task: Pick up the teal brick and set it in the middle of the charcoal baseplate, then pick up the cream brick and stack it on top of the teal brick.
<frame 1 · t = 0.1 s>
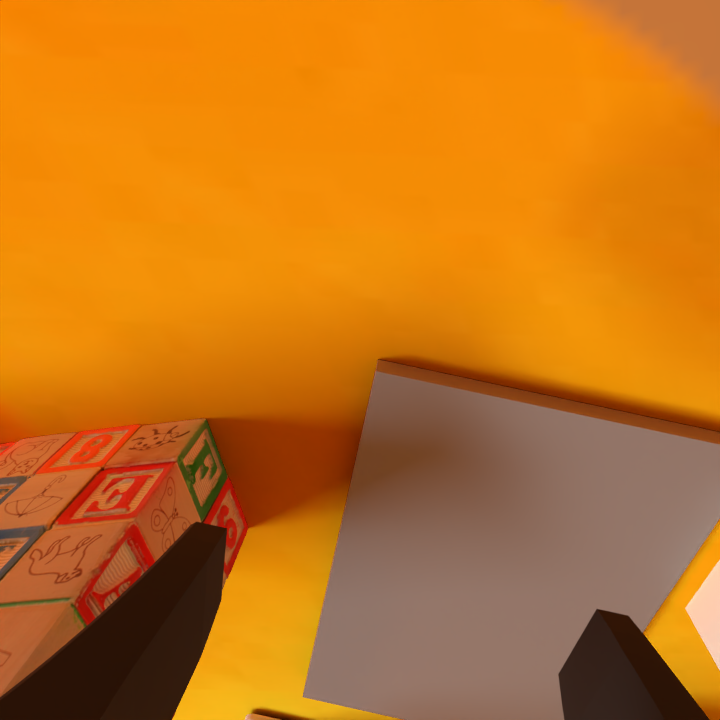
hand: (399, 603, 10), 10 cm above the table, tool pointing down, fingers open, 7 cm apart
baseplate: (483, 581, 23), on the table
stack of blocks: (29, 491, 24), on the table
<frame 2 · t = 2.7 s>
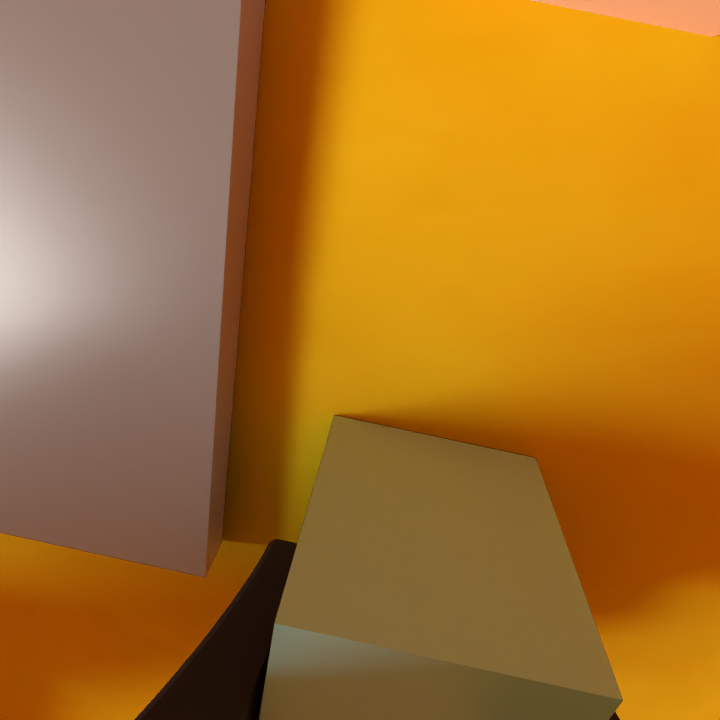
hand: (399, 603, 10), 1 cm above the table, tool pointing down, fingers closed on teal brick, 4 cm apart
teal brick: (401, 546, 11), on the table, touching gripper
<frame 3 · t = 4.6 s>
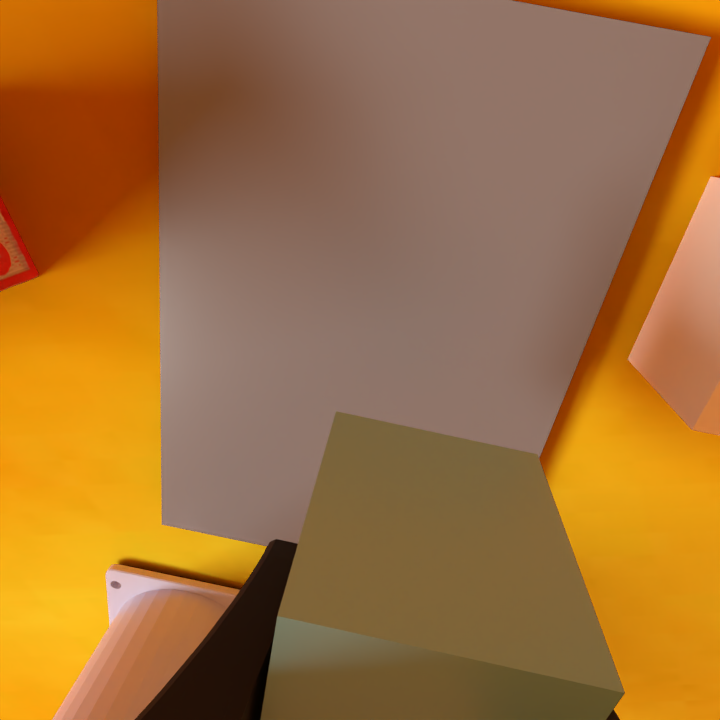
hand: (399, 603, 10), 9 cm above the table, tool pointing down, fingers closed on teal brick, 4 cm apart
baseplate: (365, 335, 18), on the table
teal brick: (402, 543, 11), point 8 cm above the table, touching gripper
when the fingers open (3 cm above the table, at t = 6.4 s): teal brick stays where it is, resting on baseplate.
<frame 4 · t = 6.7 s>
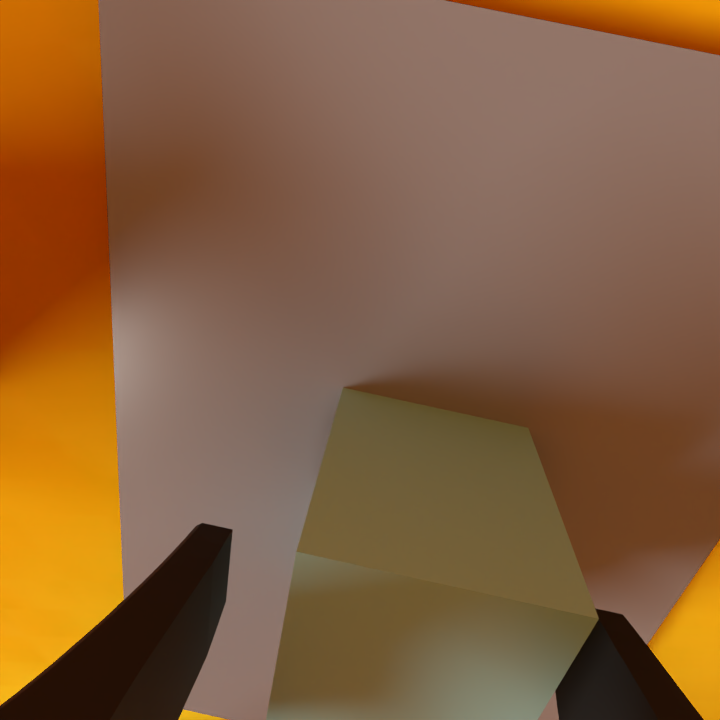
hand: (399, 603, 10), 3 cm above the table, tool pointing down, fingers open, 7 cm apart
baseplate: (403, 488, 13), on the table
teal brick: (403, 513, 12), point 1 cm above the table, touching baseplate
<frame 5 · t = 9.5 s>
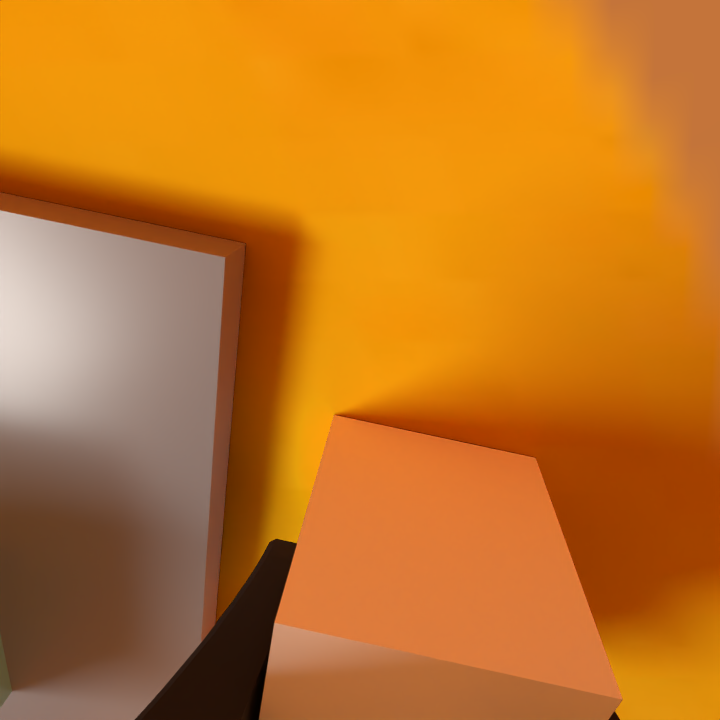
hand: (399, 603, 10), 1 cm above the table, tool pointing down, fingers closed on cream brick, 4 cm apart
cream brick: (401, 546, 11), on the table, touching gripper
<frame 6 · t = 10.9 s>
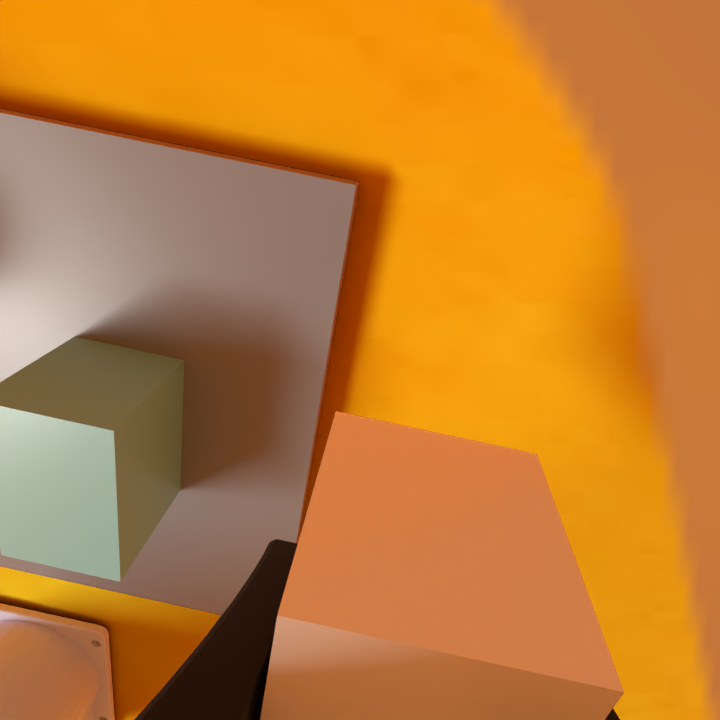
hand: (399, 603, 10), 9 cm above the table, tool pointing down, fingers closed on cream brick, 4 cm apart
baseplate: (144, 406, 20), on the table
teal brick: (131, 418, 19), point 1 cm above the table, touching baseplate
cream brick: (402, 543, 11), point 8 cm above the table, touching gripper
when the fingers open (8 cm above the table, at t = 12.4 s): cream brick stays where it is, resting on teal brick.
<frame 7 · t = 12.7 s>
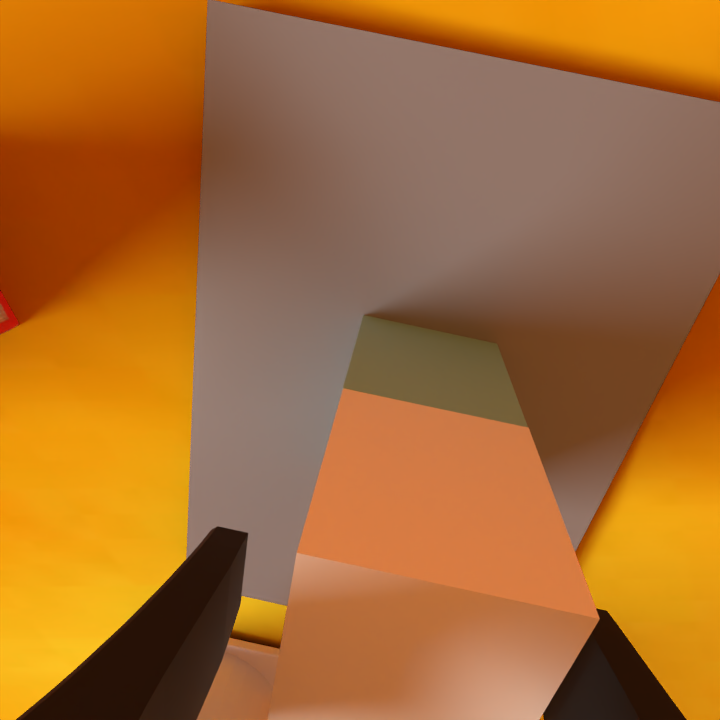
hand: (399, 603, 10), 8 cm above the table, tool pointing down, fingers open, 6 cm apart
baseplate: (406, 400, 17), on the table
teal brick: (406, 414, 16), point 1 cm above the table, touching baseplate, cream brick
cream brick: (404, 513, 12), point 5 cm above the table, touching teal brick
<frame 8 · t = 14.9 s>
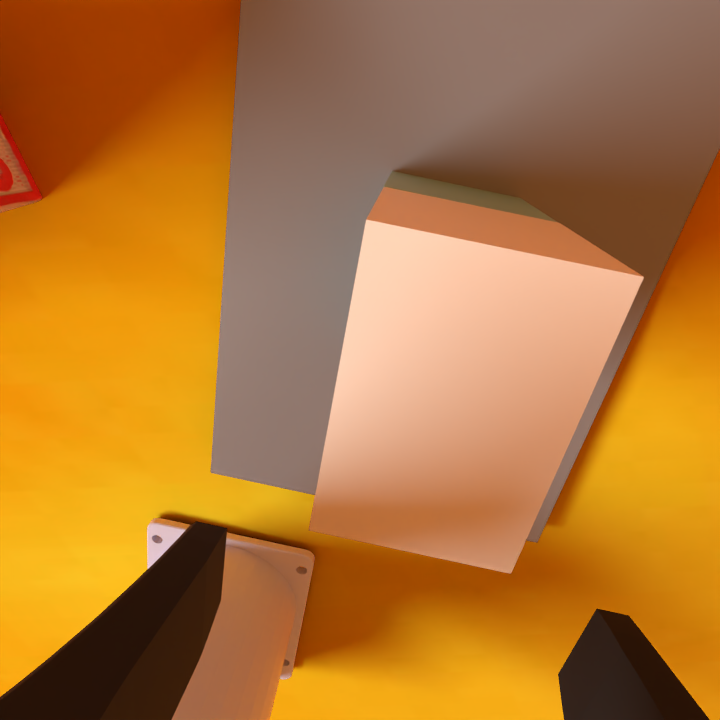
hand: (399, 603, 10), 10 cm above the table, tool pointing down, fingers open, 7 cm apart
baseplate: (430, 272, 17), on the table
teal brick: (431, 278, 16), point 1 cm above the table, touching baseplate, cream brick
cream brick: (438, 327, 12), point 5 cm above the table, touching teal brick
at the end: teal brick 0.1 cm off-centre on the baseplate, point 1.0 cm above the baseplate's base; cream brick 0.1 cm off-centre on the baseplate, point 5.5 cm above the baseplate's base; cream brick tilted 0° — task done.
